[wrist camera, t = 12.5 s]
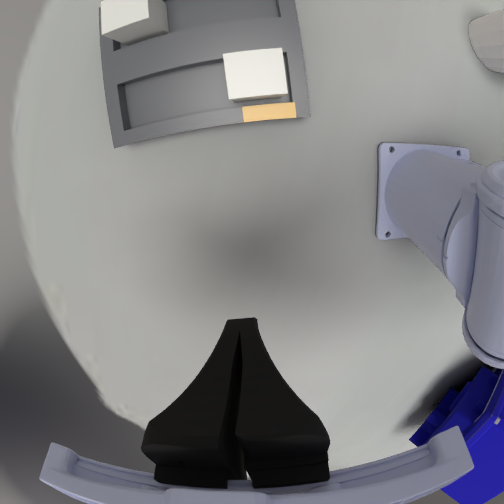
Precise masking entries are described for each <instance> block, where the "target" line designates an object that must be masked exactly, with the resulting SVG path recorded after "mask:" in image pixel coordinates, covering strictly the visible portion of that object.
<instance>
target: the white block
mask: <svg viewBox="0 0 504 504" xmlns="http://www.w3.org/2000/svg"><path fill="white" fill-rule="evenodd" d="M223 59H224V67H225V74H226V82H227V89H228V97H229V100H231V101H233V102H234V103H235V102H242V101H251V100H261V99H272V98H281V97H283V96H285V95H286V94H288V90H287V82H286V74H285V66H284V59H283V52H282V48H271V49H259V50H249V51H240V52H232V53H225V54H223Z"/></svg>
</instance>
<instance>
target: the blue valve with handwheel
mask: <svg viewBox="0 0 504 504" xmlns="http://www.w3.org/2000/svg"><path fill="white" fill-rule="evenodd" d="M455 426H459V429H460V431H461V433H462V436H463V438H464V441H465V443H466V446H467V448H468V451H469V453H470V456H471V459H472V461H473V464H474V468H473V469H472V470H471V471H469V472H468V473H466V474H465V475H463V476H462V477H460V478H459V479H457V480H456V481H454V482H452V483H451V484H449V485H447V486H445V487H443V488H441V490H442V491H444V492H445V493H446V494H447V495H449V496H450V497H451V498H453V499H454V500H456V501H457V502H458V503H460V504H484V503H485V502H487V501H489V500H490V499H492V498H493V497H495V496H497V495H498V494H500V493H502V492H503V491H504V369H500V368H497V369H496V370H495V372H492V371H490V370H489V369H487V368H485V367H484V366H483V367H481V368H480V370H479V371H478V373H477V374H476V376H475V377H474V379H473V380H472V382H469V381H468V382H467V384H466V385H465V386H464V388H463V389H462V391H461V392H460V393H459V392H458V391H456V390H455V389H453V388H452V387H451V388H450V390H449V391H448V392H447V394H446V395H445V397H444V398H443V399H442V401H441V402H440V403H439V404H438V406H437V407H436V408H435V409H434V411H433V412H432V413H431V414H430V416H429V417H428V418H427V419H426V421H425V422H424V423H423V424H422V425H421V427H420V428H419V429H418V430H417V431H416V432H415V434H414V435H413V436H412V437H411V438H410V439H409V440H410V441H411V442H412V443H414V444H415V445H416V446H417V447H419V446H422V445H425V444H427V443H428V442H429V440H430V439H431V438H433V437H434V436H435V435H437V434H439V433H441V432H444V431H446V430H448V429H450V428H452V427H455Z"/></svg>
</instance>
